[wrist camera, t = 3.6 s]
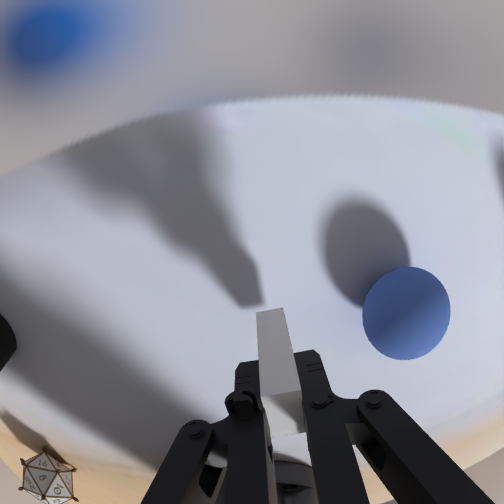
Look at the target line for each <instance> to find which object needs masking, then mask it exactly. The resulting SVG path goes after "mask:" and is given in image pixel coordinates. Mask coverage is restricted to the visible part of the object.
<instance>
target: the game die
mask: <svg viewBox="0 0 504 504" xmlns="http://www.w3.org/2000/svg"><path fill="white" fill-rule="evenodd" d="M42 450H43V452H42V453H40V454H38V455H36V456H34V457H32V458H30V459H28V460H26V461H24V460H23V459H21V458H20V460H21V464H22V465H23V466H24V467H23V487H19V489H18V490H23V489H24V490H26V491H27V492H29V493H30V494H32V495H33V496H35V497H36V498H38V499H39V500H40V501H42V502H43V503H45V504H61V503H64V502H66V501H68V500H71V499H74V500H75V501H79V500H78V499H77V498H76V497H74V495H73V480H72V472H76V470H77V469H74V468H73V469H72V470H70V469H69V468H67V467H66V466H64V465H63V464H61V463H60V462H58V461H57V460H56V459H54V458H53V457H51V456H50V455H49V454H47V453H46V448H45V446H43V449H42Z"/></svg>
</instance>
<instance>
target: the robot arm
mask: <svg viewBox="0 0 504 504" xmlns="http://www.w3.org/2000/svg"><path fill="white" fill-rule="evenodd" d="M256 320H257V338H258V357H259V360H255V361H248V362H241V363H240V364H239V365H238V367H237V368H236V370H235V389H234V392H232V393H230V394H229V395H228V396H227V397H226V399H225V402H224V403H225V405H226V408H227V411H228V413H229V416H228V417H226V418H225V419H223V420H221V421H219V422H216V423H213V424H209V423H208V422H207V421H203V420H193V421H190V422H188V423H186V424H185V425H183V427H182V428H181V429H180V431H179V433H178V435H177V437H176V439H175V440H174V442H173V444H172V446H171V448H170V450H169V452H168V454H167V456H166V457H165V459H164V461H163V463H162V465H161V467H160V469H159V470H158V472H157V474H156V476H155V478H154V480H153V482H152V483H151V485H150V487H149V489H148V491H147V493H146V495H145V496H144V498H143V500H142V502H141V504H370V503H369V500H368V496H367V493H366V490H365V486H364V483H363V479H362V476H361V473H360V470H359V466H358V463H357V460H356V457H355V453H354V450H353V447H352V445H356V447H357V448H358V449H359V451H360V452H361V454H362V455H363V456H364V458H365V459H366V461H367V462H368V463H369V465H370V466H371V467H372V469H373V470H374V472H375V473H376V474H377V476H378V477H379V478H380V480H381V481H382V483H383V484H384V485H385V487H386V488H387V489H388V491H389V492H390V493H391V495H392V496H393V497H394V499H395V500H396V501H397V503H398V504H495V503H494V502H493V501H492V500H491V499H490V498H489V497H488V496H487V495H486V494H485V493H484V492H483V491H482V490H481V489H480V488H479V487H478V486H477V485H476V484H475V483H474V482H473V481H472V480H471V479H470V478H469V477H468V476H467V475H466V473H464V471H463V470H462V469H461V468H460V467H459V466H458V465H457V464H456V463H455V462H454V461H453V460H452V459H451V458H450V457H449V456H448V455H447V454H446V453H445V452H444V451H443V450H442V449H441V448H440V447H439V446H438V445H437V444H436V443H435V442H434V441H433V440H432V439H431V438H430V437H429V436H428V434H427V433H426V432H425V431H424V430H423V429H422V428H421V427H420V426H419V425H418V424H417V423H416V422H415V421H414V420H413V419H412V418H411V417H410V416H409V415H408V414H407V413H406V412H405V411H404V410H403V409H402V408H401V407H400V406H399V405H398V404H397V403H396V402H395V401H394V400H393V399H392V397H391V396H390V395H389V394H387V393H386V392H384V391H381V390H369V391H366V392H364V393H363V394H362V395H360V397H359V398H358V399H344V398H340V397H338V396H336V395H335V394H334V393H333V392H332V390H331V387H330V384H329V381H328V378H327V375H326V372H325V370H324V367H323V364H322V361H321V358H320V355H319V354H318V353H317V352H316V351H314V350H313V349H312V350H308V351H303V352H297V353H293V350H292V345H291V341H290V336H289V332H288V327H287V323H286V318H285V314H284V310H283V308H279V309H273V310H267V311H262V312H256ZM303 432H306V434H307V442H308V451H309V453H310V458H311V464H312V468H310V467H307V466H304V465H300V464H295V463H288V462H277V461H274V455H273V446H272V443H271V438H272V437H279V436H285V435H291V434H297V433H303Z"/></svg>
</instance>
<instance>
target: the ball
mask: <svg viewBox="0 0 504 504" xmlns="http://www.w3.org/2000/svg"><path fill="white" fill-rule="evenodd" d="M362 318H363V326H364V330H365V333H366V335H367V337H368V339H369V341H370V342H371V344H372V345H373V346H374V347H375V348H376V349H377V350H378V351H379V352H381V353H382V354H384V355H385V356H388V357H390V358H393V359H397V360H410V359H415V358H419V357H421V356H423V355H425V354H427V353H428V352H430V351H431V350H432V349H434V348H435V347H436V346H437V345H438V343H439V342H440V341H441V339H442V338H443V336H444V334H445V333H446V330H447V328H448V325H449V320H450V302H449V298H448V295H447V292H446V290H445V288H444V286H443V285H442V283H441V282H440V281H439V280H438V279H437V278H436V277H435V276H434V275H432V274H431V273H429V272H427V271H426V270H423V269H420V268H416V267H402V268H397V269H394V270H392V271H389V272H388V273H386V274H384V275H383V276H382V277H380V278H379V279H378V280H377V281H376V282H375V283H374V285H373V286H372V287H371V289H370V290H369V292H368V294H367V296H366V299H365V302H364V306H363V314H362Z"/></svg>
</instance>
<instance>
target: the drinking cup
mask: <svg viewBox="0 0 504 504" xmlns="http://www.w3.org/2000/svg"><path fill="white" fill-rule="evenodd" d="M15 351H16V339H15V336H14V333H13V331H12V329H11V327H10V326H9V324H8V323H7V321H6V320H5V319H4V317H3V316H2V315H1V314H0V371H1V370H2V369H3V367H4V366H5V364H6V363H7V362H8V360H9V359H10V358H11V356H12V355H13V354H14V352H15Z"/></svg>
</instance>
